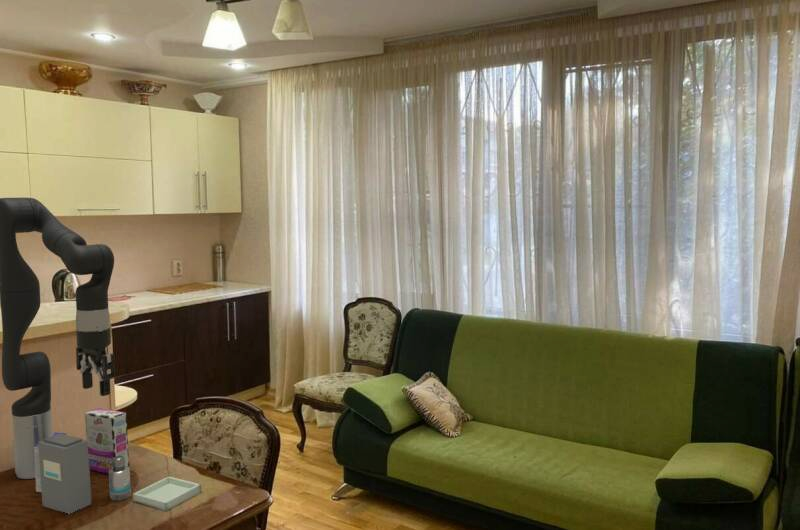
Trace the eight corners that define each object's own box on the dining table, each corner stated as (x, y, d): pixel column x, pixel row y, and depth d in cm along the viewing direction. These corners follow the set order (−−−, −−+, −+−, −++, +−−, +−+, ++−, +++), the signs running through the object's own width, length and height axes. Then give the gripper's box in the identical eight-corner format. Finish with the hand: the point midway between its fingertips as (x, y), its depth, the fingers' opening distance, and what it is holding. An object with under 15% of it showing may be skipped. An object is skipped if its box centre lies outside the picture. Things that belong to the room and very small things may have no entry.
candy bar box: (130, 469, 179) (127, 412, 178) (115, 476, 175) (112, 417, 173) (102, 463, 184) (99, 407, 183) (87, 470, 180) (83, 412, 178)
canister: (105, 498, 162) (103, 459, 161) (122, 490, 166) (119, 452, 165) (119, 502, 159) (116, 463, 159) (135, 494, 164) (133, 456, 163)
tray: (133, 501, 160) (132, 493, 160) (169, 483, 170) (168, 476, 170) (166, 511, 154) (165, 503, 154) (201, 491, 164) (201, 484, 164)
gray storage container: (41, 506, 158) (36, 440, 156) (65, 496, 164) (60, 432, 162) (67, 515, 153) (63, 447, 152) (91, 503, 159) (87, 438, 157)
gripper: (63, 325, 159) (67, 389, 161) (92, 333, 150) (95, 401, 152) (94, 320, 165) (96, 382, 167) (123, 328, 156) (126, 393, 158)
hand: (96, 391), depth 159 cm, fingers open, 8 cm apart
